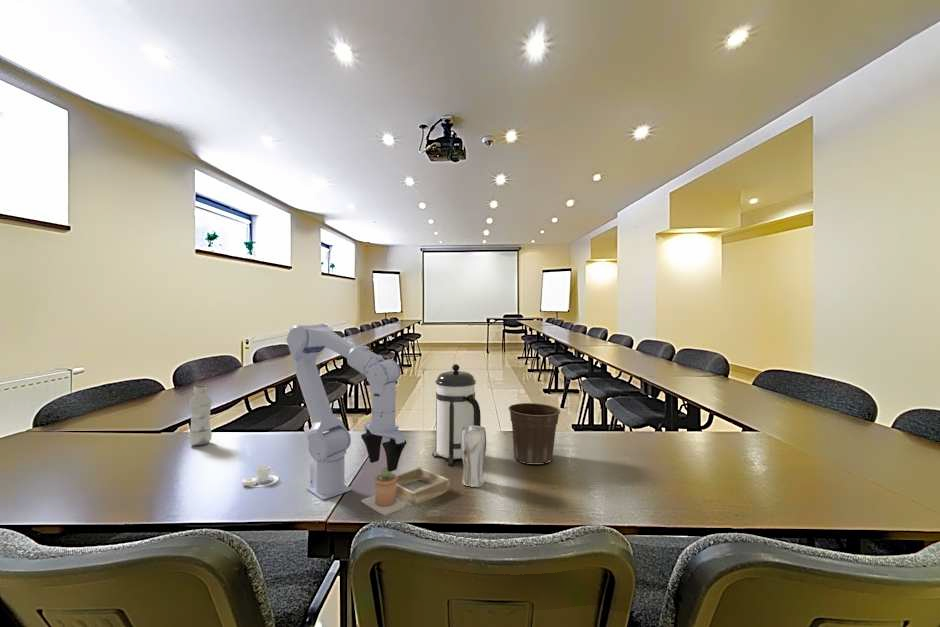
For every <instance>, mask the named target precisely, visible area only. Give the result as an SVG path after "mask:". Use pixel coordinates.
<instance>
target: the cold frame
mask: <svg viewBox="0 0 940 627" xmlns="http://www.w3.org/2000/svg"><path fill="white" fill-rule="evenodd" d="M396 475H397V476H398V480H397V482H396V499H398V500H401V501H402V502H404V503H406V504H408V505H410V506H411V507H415V506H417V505H420V504H422V503H425V502H427V501H429V500H432V499H434V498H437V497H439V496H441V495H443V493H444V494H446V493H448V492H450V479H448V478H446V477H445V476H442V475H439V474H437V473H434V472H432V471H430V470H427V469H426V468H423V467H421V466H420V467H419V466H418V467H416V468H414V469H411V470H407V471H405V472H403V473H402V472H401V473H399V474H396ZM419 480H420V481H423V482H424V483H427V484H429V485H427V486H426V487H423V488H421V489H418V490H416V491H412V490H410V489H408V488H406V487H404V486H406V485H409V484H410V483H414V482H417V481H419ZM447 491H448V492H447ZM445 492H446V493H445ZM438 495H439V496H438ZM436 496H437V497H436Z"/></svg>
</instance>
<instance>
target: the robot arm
mask: <svg viewBox="0 0 940 627" xmlns="http://www.w3.org/2000/svg"><path fill="white" fill-rule="evenodd" d="M285 339H286V343H287V345H288V349H289V353H290V354H291V362H292V367H293V369H294V372H295V375H296V378H297V381H298V383H299V387H300V390H301V392H302V397H303V399H304V401H305V404H306V409H307V411H308V414H309V416H310V420H311V423H312V426H311V427H310V429H309V430H308V432H307V434H306V436H307V442H308V452H309V454H310V456H311V460H310V463H309V485H308V486H306V490H308V491H309V492H311V493H312V494H314V496H316V497H318V498H320V500H322V501H323V500H327V499H331V498H334V497H336V496H338V495H339V496H340V495H341V494H344V493H347V492H350V491H352V488H351V487H350V486H348V485H346V484H345V472H346V471H345V464H346V463H345V461H346V459H345V457H346V456H345V455H347V450H348V449H349V448H350V446H351V444H352V437H351V434H350V432H349V430H347V429H348V428H346V427H345V424H344V422H343V420H341V419H339V418H338V417H336V416H334V413H333V411H332V408H331V405H330V401H329V398H328V396H327V393H326V390H325V387H324V384H323V381H322V378H321V375H320V372H319V369H318V366H317V363H316V361H317V358H318V357H319V356H320V355H321V354H322V353H323V352H324V350H325V349H326V348H327V349H329V350H330V351H333V352H334V353H336V354H339V355H340V356H341V357H344V358H345V359H346V361H347V365H348V366H350V367H351V368H353V369H355V371H358V372H359V373H360V374H362V375H364V377H366V379H367V382H368V384H369V387H370V392H371V421H369V422H364V423H363V431H364V432H365V433H362V434H360V435H361V436H360V437H361V439H362V441H363V442H364V444H365V447H366V450H367V454H368V459H369V462H370V463H371V464H373V463H376V462H379V461H380V456H381V454H380V453H381V446H382V448H383V449H384V450H383V451H384V452H385V457H386V467H387V469H388V471H389V472H391V473H392V472H393V471H396V470H397V469H398V465H399V463H400V462H399V461H400V457H401V455H402V452H403V450H404V448H405V447H406V445H407V440H406V439H405V437H406V436H405V435H406V434H405V433H403V432H401V431H400V430H399V428H400V426H399V425H397V424H396V396H397V395H396V392H397V391H396V388H397V387H396V386H397V384H396V383H397V381H398V380H399V379H400V377H401V368H400V367H401V366H400V365H399V364H398V363H397V362H396V361H395V360H394V359H393V358H392V359H391V358H389V359H384V357H383V356H382V355H381V354H379V355H378V354H377V353H375V352H373V351H371V350H370V347H369V346H367V345H357V346H354V345H353V344H351V343H350V342H348V341H347V340H346V339H345V338H343V337H342V336H340V335H339V334H337V333H336V332H335V331H334V330H333V328H332V327H330V326H328V325H327V324H325V323H319V324H306V325H300V324H296V325H293V326H292V327H291V328H290V330H289V332H288V334H287V336H286V338H285ZM383 438H385V439H388V441H384V442H382V441H383Z"/></svg>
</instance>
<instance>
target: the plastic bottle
mask: <svg viewBox="0 0 940 627" xmlns="http://www.w3.org/2000/svg"><path fill="white" fill-rule="evenodd" d="M207 392H208V386H207V385H198V386H193V393H194V395H193V396H192V397H191V398H190V400H189V404H188V406H189V412H190V430H189V434H188V443H189V444H190V445H191V446H202V445H206V444H209V443H210V442H211V440H212V436H213V434H212V429H211V421H210V420H211V418H210V416H211V407H212V403H213V400H212V398H211V396H210V395H209V394H208V393H207Z"/></svg>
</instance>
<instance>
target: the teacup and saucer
mask: <svg viewBox="0 0 940 627" xmlns="http://www.w3.org/2000/svg"><path fill="white" fill-rule="evenodd" d="M271 469H272V472H271V473H270V471H271ZM274 472H275V468H274V467H272V466H271V467H270V466H269V465H260V466H258V467H257V468H256V476H254V477H248V478H244V479H242V481H241V483H242V485H243V486H244V487H250V488H264V487H268V486H271V485H274V484H276V483H277V482H278V481H279V480H280V477H279V476H278V475H274ZM272 477H273V478H272ZM256 478H257V479H256ZM271 478H272V479H274V480H273V481H271V482H270V483H267V484H263V483H266V482H268V480H269V479H271ZM258 483H259V484H260V483H261V485H257V484H258ZM262 484H263V485H262Z"/></svg>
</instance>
